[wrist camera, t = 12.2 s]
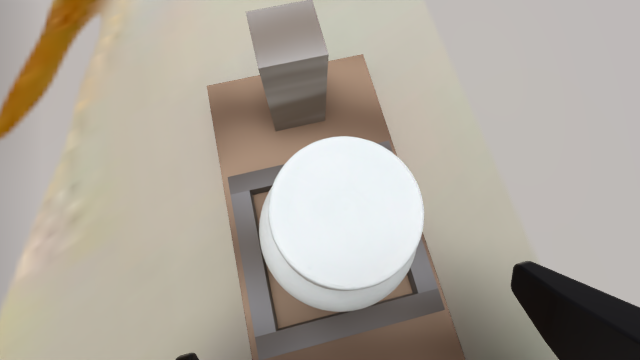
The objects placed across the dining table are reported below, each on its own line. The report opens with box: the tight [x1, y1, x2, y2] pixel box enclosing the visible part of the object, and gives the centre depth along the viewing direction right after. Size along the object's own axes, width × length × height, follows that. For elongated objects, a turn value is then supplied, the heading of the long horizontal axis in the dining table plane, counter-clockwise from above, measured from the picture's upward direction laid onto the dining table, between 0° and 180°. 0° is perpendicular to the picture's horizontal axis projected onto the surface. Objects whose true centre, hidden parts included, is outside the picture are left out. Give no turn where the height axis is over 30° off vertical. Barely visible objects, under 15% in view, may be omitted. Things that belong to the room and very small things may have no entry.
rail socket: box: [207, 0, 465, 360], centre depth 15 cm, size 22×10×7 cm, turn 14°
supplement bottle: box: [259, 136, 424, 312], centre depth 13 cm, size 5×5×10 cm
